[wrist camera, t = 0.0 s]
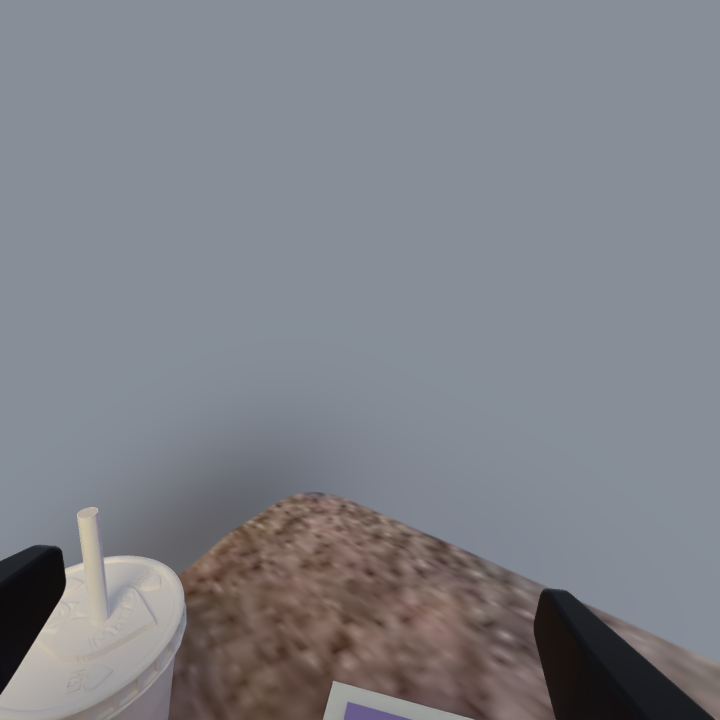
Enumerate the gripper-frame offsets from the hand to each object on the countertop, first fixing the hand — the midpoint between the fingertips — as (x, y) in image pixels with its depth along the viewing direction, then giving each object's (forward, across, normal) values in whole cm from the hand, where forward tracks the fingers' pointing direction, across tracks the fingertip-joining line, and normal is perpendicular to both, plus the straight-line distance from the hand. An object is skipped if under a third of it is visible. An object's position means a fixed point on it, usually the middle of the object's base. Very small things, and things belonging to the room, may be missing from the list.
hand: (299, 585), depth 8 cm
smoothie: (+5, +8, +17) cm, 19 cm away
